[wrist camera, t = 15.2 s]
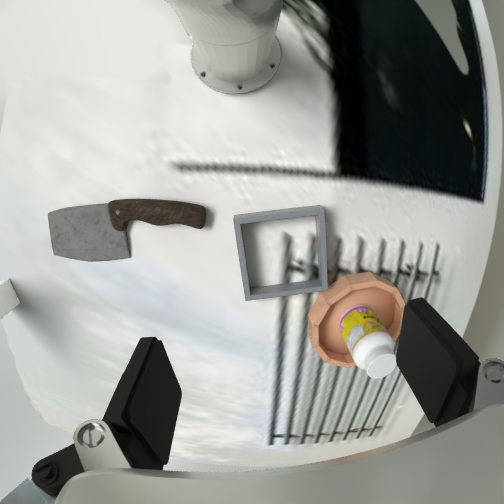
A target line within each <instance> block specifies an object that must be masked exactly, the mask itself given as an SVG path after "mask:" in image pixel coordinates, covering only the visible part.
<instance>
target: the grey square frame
mask: <svg viewBox="0 0 504 504" xmlns="http://www.w3.org/2000/svg"><path fill="white" fill-rule="evenodd" d="M311 215H315V218H316V232H317V249H318V270H319V279H316V280H309V281H302V282H295V283H287V284H280V285H272V286H264V287H256V288H250V284H249V277H248V270H247V264H246V257H245V250H244V243H243V235H242V228H241V224H245V223H252V222H260V221H268V220H277V219H285V218H294V217H302V216H311ZM233 221H234V228H235V234H236V241H237V248H238V254H239V261H240V268H241V274H242V281H243V287H244V293H245V300H246V301H248V300H257V299H265V298H273V297H281V296H288V295H296V294H303V293H310V292H317V291H323V290H328V283H327V251H326V230H325V214H324V208H323V207H322V206H320V205H317V206H308V207H298V208H290V209H281V210H273V211H264V212H256V213H248V214H241V215H234V218H233Z"/></svg>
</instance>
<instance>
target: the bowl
mask: <svg viewBox="0 0 504 504" xmlns="http://www.w3.org/2000/svg"><path fill="white" fill-rule="evenodd" d="M355 305H365V306H368V307H369V308H371V309H372V311H373V312H374V313H375V315H376V316H377V317H378V319H379V320H380V322H381V323H382V325H383V326H384V328H385V329H386V330H387V332H388V333H389V335H390V336H391V338H392V339H393V342H395V341H396V339H397V338H398V336H399V335H400V331H401V325H402V318H403V311H404V306H405V303H404V301H403V299H402V297H401V295H400V293H399V290H398V289H397V288H396V287H395V286H394V285H393V284H392V283H391V282H390V281H389V280H387V279H385V278H383V277H381V276H378V275H376V274H374V273H371V272H363V273H357V274H350V275H344V276H342V277H341V278H340V279H338V280H337V281H335V282H334V283H333V284H331V285H330V286H328V290H323V291H321V292H320V294H319V296H318V298H317V299H316V301H315V303H314V305H313V307H312V308H311V310H310V312H309V314H308V322H309V337H310V341H311V344H312V347H313V348H314V350H315V351H316V352H317V353H318V354H319V355H320V357H321V358H322V359H323V360H324V361H325V362H326V363H330V364H334V365H338V366H342V367H346V368H347V367H351V366H356V364H355V362H354V360H353V358H352V355H351V353H350V351H349V349H348V347H347V345H346V343H345V340H344V338H343V336H342V334H341V332H340V329H339V321H340V318H341V316H342V315H343V313H344V312H345V311H346V310H347V309H349V308H350V307H352V306H355Z"/></svg>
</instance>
